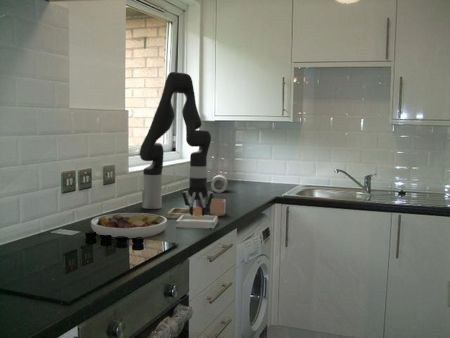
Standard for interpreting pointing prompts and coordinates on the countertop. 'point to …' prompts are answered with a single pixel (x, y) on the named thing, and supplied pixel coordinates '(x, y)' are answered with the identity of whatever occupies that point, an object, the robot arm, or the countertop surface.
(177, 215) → the corral
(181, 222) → the tray
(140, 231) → the bowl
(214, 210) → the cup
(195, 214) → the ball
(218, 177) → the toilet paper
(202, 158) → the robot arm
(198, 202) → the flask
